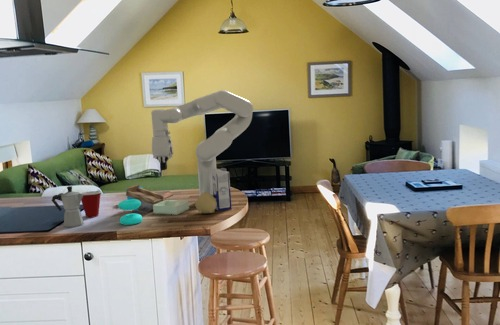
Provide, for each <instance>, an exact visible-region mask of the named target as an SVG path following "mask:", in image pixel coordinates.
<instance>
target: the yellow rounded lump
mask: <svg viewBox="0 0 500 325" xmlns="http://www.w3.org/2000/svg"><path fill="white" fill-rule="evenodd" d="M216 206H217V202H216V197H215V195H212V194H210V193H208V192H203V193H202V194H201V195H200V194H199V196H198V198H197V199H196V201H195V208H196V210H197V212H198V213H199V214H214V213H215V210H216V209H215V208H216Z"/></svg>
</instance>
